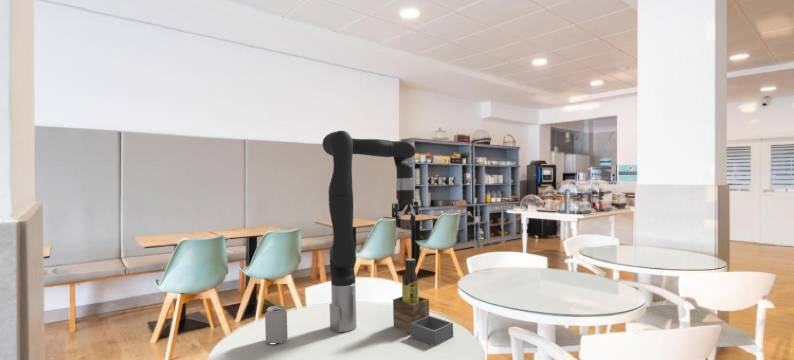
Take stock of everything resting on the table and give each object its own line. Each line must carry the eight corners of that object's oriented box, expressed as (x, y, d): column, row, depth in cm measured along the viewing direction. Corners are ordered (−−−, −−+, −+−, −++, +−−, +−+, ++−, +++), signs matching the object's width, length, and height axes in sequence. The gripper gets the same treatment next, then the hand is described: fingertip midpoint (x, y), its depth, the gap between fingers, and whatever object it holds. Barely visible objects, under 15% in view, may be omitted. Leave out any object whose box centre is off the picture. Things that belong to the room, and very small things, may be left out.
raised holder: (413, 333, 144) (412, 305, 144) (393, 326, 152) (393, 299, 151) (429, 326, 151) (428, 299, 151) (410, 320, 158) (409, 294, 158)
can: (267, 347, 136) (266, 312, 135) (264, 339, 142) (263, 306, 142) (289, 342, 139) (288, 308, 139) (285, 335, 146) (284, 303, 146)
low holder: (434, 346, 134) (434, 331, 134) (410, 336, 142) (410, 323, 142) (453, 336, 141) (452, 323, 141) (429, 328, 149) (429, 315, 149)
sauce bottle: (412, 315, 147) (411, 262, 146) (399, 312, 150) (397, 260, 150) (422, 310, 152) (421, 258, 152) (409, 307, 156) (407, 257, 155)
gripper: (410, 188, 176) (410, 224, 176) (386, 189, 166) (387, 227, 166) (422, 188, 171) (423, 225, 171) (399, 189, 161) (400, 229, 161)
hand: (405, 226), depth 169 cm, fingers open, 8 cm apart
